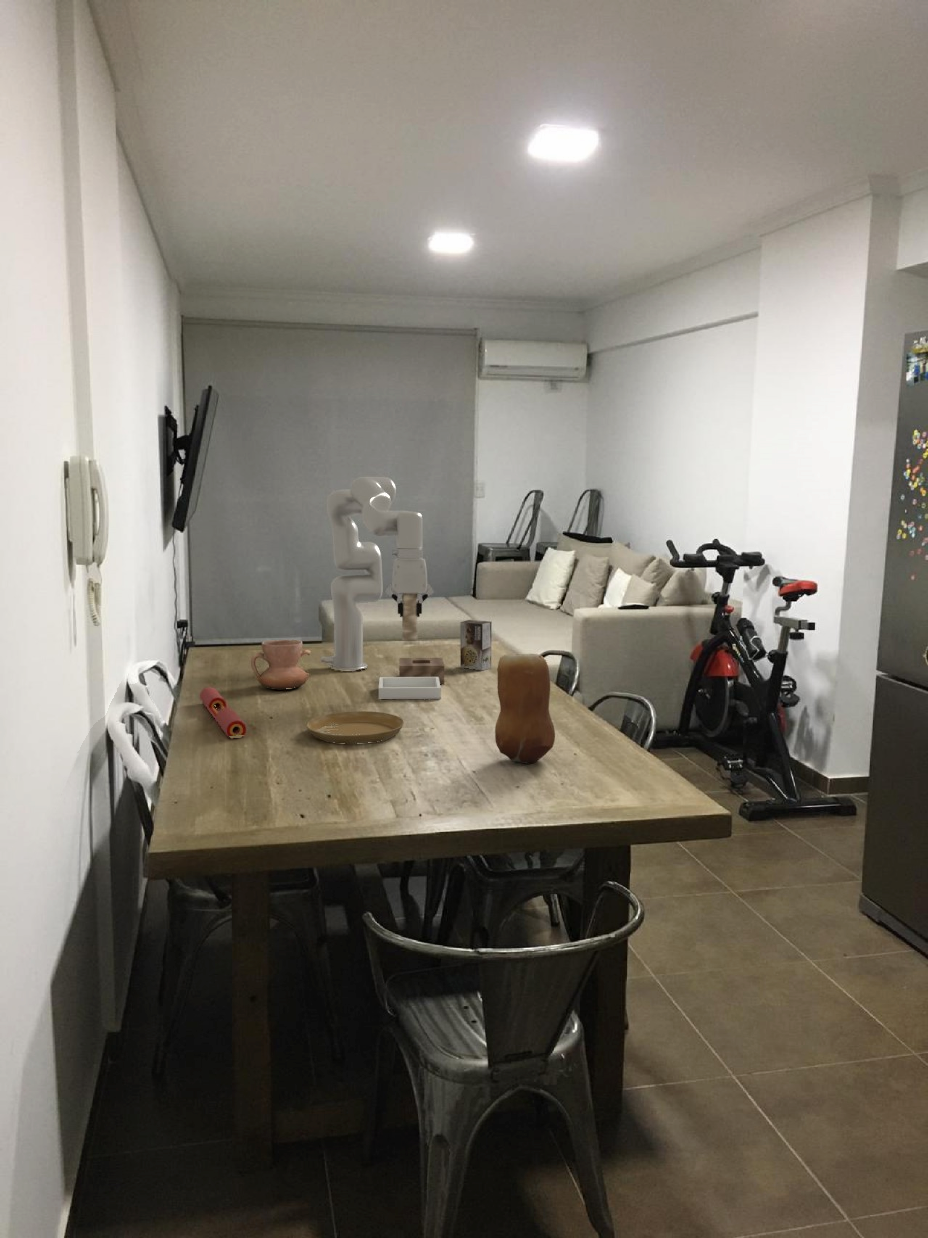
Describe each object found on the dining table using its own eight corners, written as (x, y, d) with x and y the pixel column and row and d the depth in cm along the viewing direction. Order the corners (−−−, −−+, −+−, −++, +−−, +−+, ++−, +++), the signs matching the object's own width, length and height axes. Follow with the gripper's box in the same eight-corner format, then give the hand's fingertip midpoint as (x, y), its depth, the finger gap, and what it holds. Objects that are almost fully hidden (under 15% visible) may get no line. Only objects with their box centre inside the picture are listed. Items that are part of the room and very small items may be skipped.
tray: (378, 700, 280) (378, 688, 279) (379, 688, 296) (379, 677, 295) (440, 699, 281) (440, 687, 281) (438, 688, 297) (438, 676, 296)
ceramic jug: (310, 681, 305) (308, 637, 303) (313, 690, 291) (311, 644, 289) (251, 685, 301) (249, 640, 299) (252, 694, 287) (250, 647, 285)
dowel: (402, 641, 284) (402, 590, 282) (402, 639, 288) (402, 589, 286) (417, 641, 284) (417, 590, 282) (417, 639, 288) (417, 589, 286)
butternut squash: (518, 750, 228) (519, 645, 225) (565, 760, 220) (568, 652, 217) (481, 762, 218) (482, 653, 214) (530, 774, 209) (532, 660, 206)
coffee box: (492, 668, 330) (492, 621, 328) (482, 671, 324) (482, 623, 322) (469, 665, 335) (469, 619, 332) (459, 668, 329) (459, 621, 327)
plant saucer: (312, 750, 227) (312, 737, 227) (301, 726, 250) (301, 713, 250) (413, 744, 234) (413, 731, 233) (393, 721, 257) (393, 708, 256)
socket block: (399, 684, 301) (399, 665, 300) (399, 676, 315) (399, 657, 314) (444, 684, 302) (444, 665, 301) (442, 675, 316) (442, 657, 315)
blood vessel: (246, 739, 237) (246, 719, 237) (226, 741, 235) (225, 721, 235) (217, 703, 275) (217, 686, 275) (199, 704, 273) (199, 687, 273)
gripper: (380, 555, 278) (380, 618, 281) (439, 555, 279) (438, 618, 282) (380, 553, 286) (381, 614, 288) (437, 553, 287) (437, 614, 289)
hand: (409, 615), depth 285 cm, fingers closed on dowel, 4 cm apart
